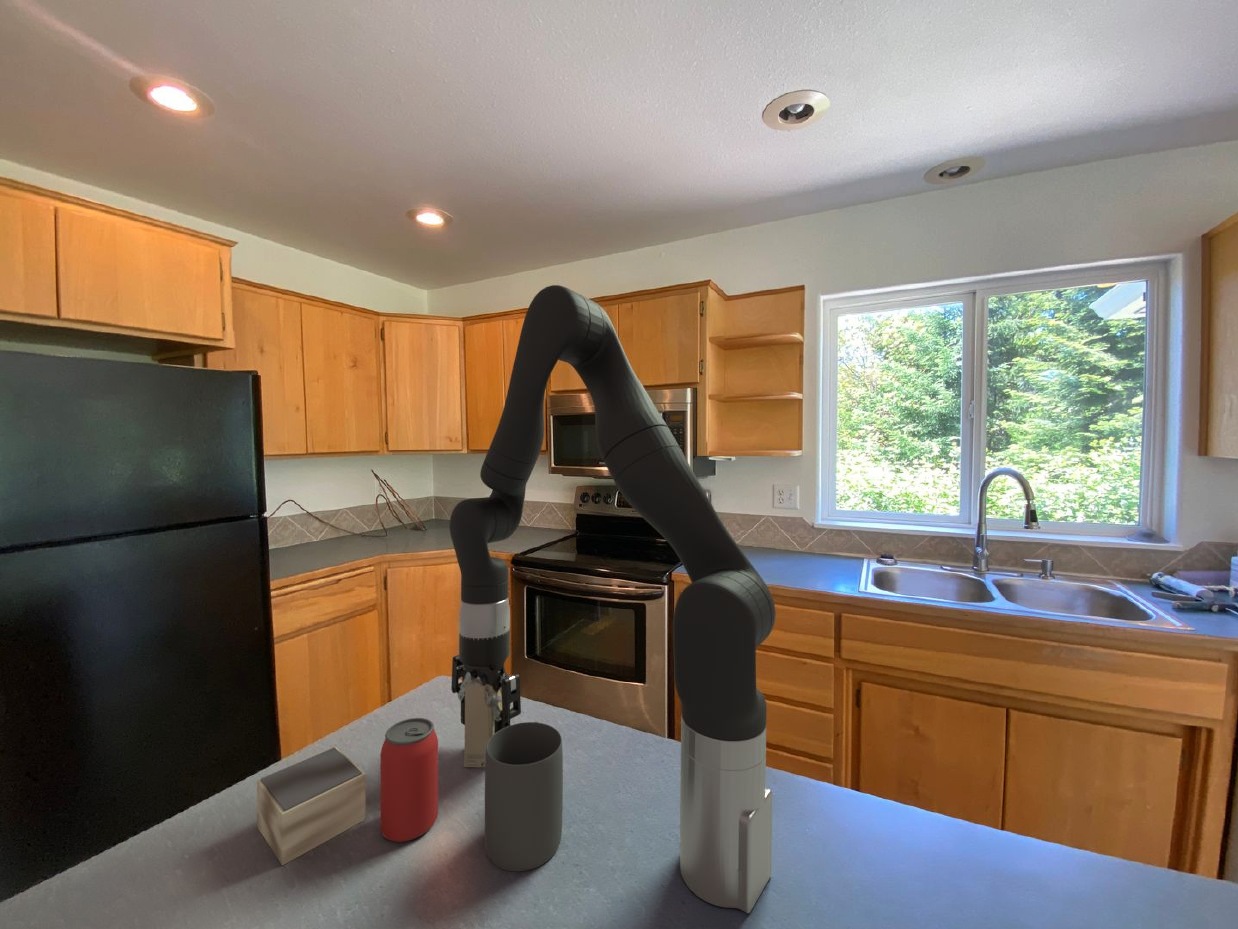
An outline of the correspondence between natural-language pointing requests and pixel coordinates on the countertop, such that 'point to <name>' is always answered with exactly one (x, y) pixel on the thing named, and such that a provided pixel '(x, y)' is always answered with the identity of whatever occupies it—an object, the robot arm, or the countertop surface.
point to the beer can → (408, 780)
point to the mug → (523, 795)
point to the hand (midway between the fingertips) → (484, 732)
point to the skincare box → (478, 722)
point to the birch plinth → (310, 803)
